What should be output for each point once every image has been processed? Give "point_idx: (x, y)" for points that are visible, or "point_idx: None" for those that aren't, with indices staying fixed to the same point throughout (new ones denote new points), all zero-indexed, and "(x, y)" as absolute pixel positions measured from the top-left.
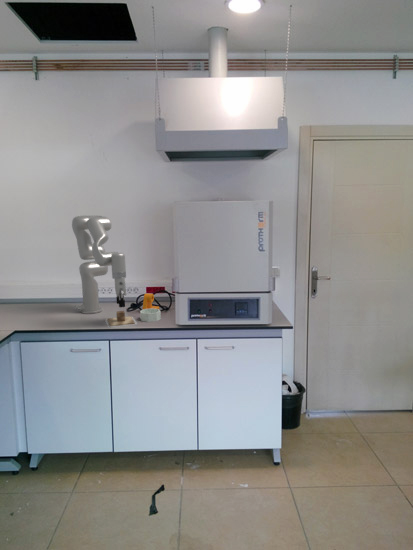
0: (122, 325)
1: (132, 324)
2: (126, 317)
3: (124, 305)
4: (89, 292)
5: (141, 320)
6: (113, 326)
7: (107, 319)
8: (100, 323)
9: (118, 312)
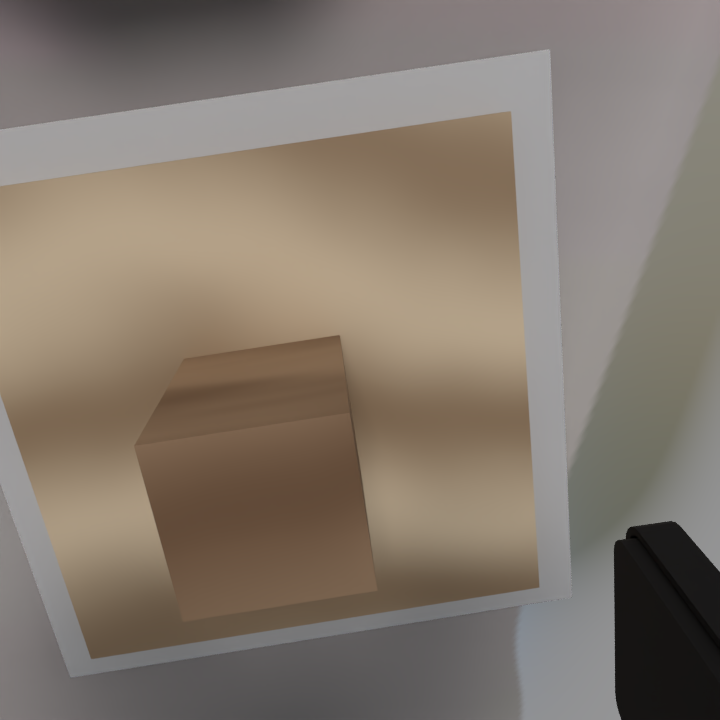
0: (535, 372)
1: (531, 169)
2: (42, 303)
3: (697, 570)
4: None
5: None
6: (548, 521)
7: (69, 642)
8: (243, 710)
9: (301, 569)
